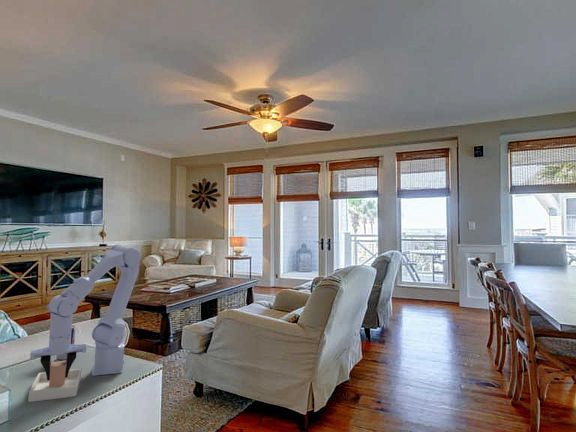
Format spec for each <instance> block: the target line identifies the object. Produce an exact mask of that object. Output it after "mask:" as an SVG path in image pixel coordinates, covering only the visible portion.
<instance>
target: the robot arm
mask: <svg viewBox="0 0 576 432" xmlns="http://www.w3.org/2000/svg"><path fill="white" fill-rule="evenodd" d="M141 260H142V254H141V252H140V250H139V249H138V248H137V247H134V246H133V247H131V246H126V245H121V244H114V245H112V247H111V248H109V249H108V250H106V253H105V255H104V257H102V259H101V260H100V261H99V262H98V263H97V264H96V265H95V266H94V267H93V268H92V269H91V270H90V271H89V272H88V274H87V275H85V276H80V277H78V278H75V279H74V280H72V282H73V283H71V284H70V285H69V286H68V287H67V288H66V289H65V290H63V291H61V293H60V294H58V295H55V296H54V297H52V298H51V299H50V301H49V302H48V304H47V305H46V309H47V311H48V312H49V313H50V322H49V323H50V324H49V338H48V346H47V347H44V348H43V347H42V348H38V349H34V350H30V354H29V355H30V356H29V358H30V359H29V360H35V359H37V358H38V359H39V358H40V364H41V365H42V367H43V370H44V372H46V376H47V381H48V380H50V367H51V360H52V359H51V358H52V356H57V355H62V354H67V362H66V371H65V378H67V377H68V373H69V370H71V367H72V365H73V363H74V361H75V360H76V359H77V353H86V352H87V344H86V343H85V344H74V345H70V344H71V329H72V325H73V314H74V313H76V312H77V310H78V307H79V305H80V304H81V301H83V299H84V298H86V296H88V295H89V294H90V293H91V292H92V291H93V290H94V287H95V283H96V282H97V281H98V280H100V279H101V278H102V277H103V276H104V275H105V274H107V273H108V272H109V271H110V270H111V269H113V268H116V267H118V268H119V270H120V272H121V274H120V277H119V279H118V281H117V285H116V287H115V290H114V293H113V295H112V298H111V300H110V303H109V306H108V309H107V312H106V314H105V315H104V316H102V317H101V318H100V319H98V323H97V325H95V326H94V328H93V330H92V332H91V338H92V340H94V341H95V343H94V344H95V353H94V364H93V366H92V372H91V376H102V375H103V376H104V375H112V374H113V375H114V374H121V373H123V371H124V365H125V359H124V355H125V343H122V342H123V340H124V337H125V329H126V325H125V322H124V320H123V317H124V314H125V312H126V308H127V305H128V304H129V302H130V301H129V300H130V298H131V294H132V292H133V289H134V287H135V283H136V281H137V278H138V275H139V273H140V262H141Z"/></svg>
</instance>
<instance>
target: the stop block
mask: <svg viewBox="0 0 576 432" xmlns="http://www.w3.org/2000/svg"><path fill="white" fill-rule="evenodd" d="M66 363H67V362H66V360H65V361H57V360H56V361H50V380H49V387H53V386H59V385H65V371H66Z"/></svg>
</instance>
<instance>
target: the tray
mask: <svg viewBox="0 0 576 432" xmlns="http://www.w3.org/2000/svg"><path fill="white" fill-rule="evenodd" d="M82 372H83V369H82V368H75V369H70V370H69V373H68V377H67V378H65V385H59V386H53V387H49V380H48V381H47V376H46V372H45V371H44V372H38V373H37V374H36V375H37V376H36V377H35V379H34V382H33V383H32V386H31V387H30V388H29V391H28V401H27V402H28V403H33V402H41V401H47V400H57V399H65V398H72V397H77V394H78V392H79V391H78V390H79V387H80V384H81V381H82Z"/></svg>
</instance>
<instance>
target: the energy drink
mask: <svg viewBox="0 0 576 432" xmlns="http://www.w3.org/2000/svg"><path fill="white" fill-rule="evenodd" d="M76 330H77V328H76V325H73V324H72V329H71V344H70V345H76V344H75V342H76ZM65 360H66V363H67V354H62V355H56V358H55V361H56V362H57V361H65Z"/></svg>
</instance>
